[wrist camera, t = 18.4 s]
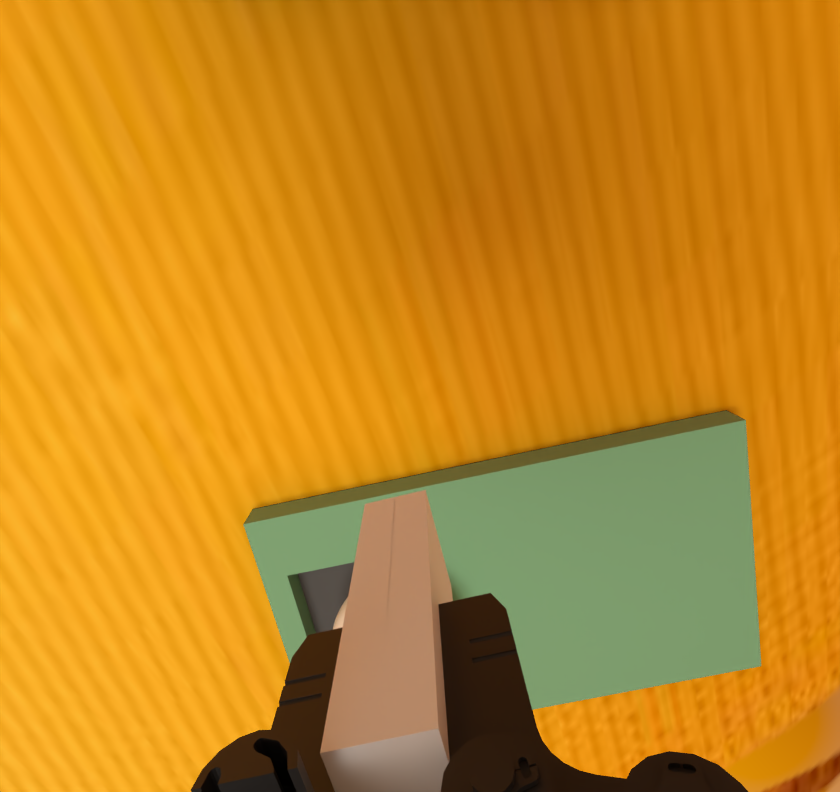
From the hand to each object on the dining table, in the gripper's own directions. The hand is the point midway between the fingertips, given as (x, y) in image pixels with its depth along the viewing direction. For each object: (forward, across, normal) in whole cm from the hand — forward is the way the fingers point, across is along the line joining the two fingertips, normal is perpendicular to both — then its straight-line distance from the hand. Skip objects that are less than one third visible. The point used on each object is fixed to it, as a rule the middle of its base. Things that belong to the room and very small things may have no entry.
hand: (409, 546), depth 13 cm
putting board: (+28, +3, -22) cm, 35 cm away
